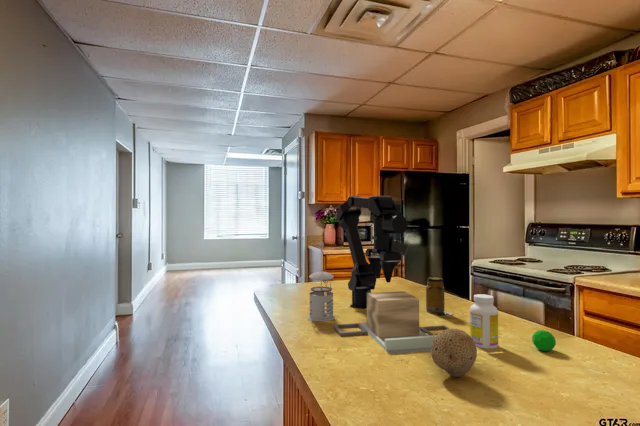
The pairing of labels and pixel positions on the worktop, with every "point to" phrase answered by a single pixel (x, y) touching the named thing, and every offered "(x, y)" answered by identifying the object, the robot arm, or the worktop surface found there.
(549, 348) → the polyhedron
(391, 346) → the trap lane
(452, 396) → the worktop surface
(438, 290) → the condiment
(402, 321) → the oak block
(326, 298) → the french press
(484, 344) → the supplement bottle
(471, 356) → the natural sponge
